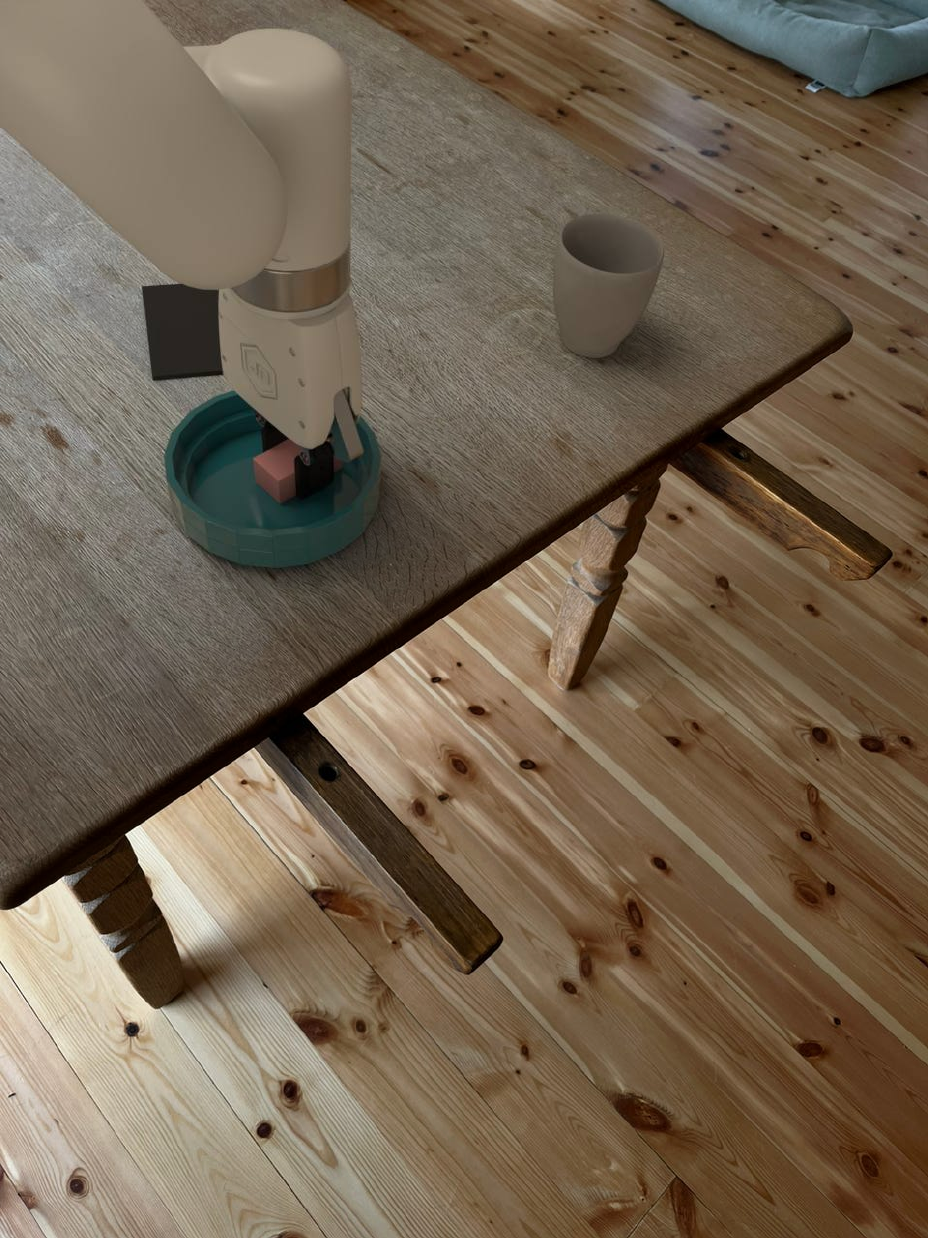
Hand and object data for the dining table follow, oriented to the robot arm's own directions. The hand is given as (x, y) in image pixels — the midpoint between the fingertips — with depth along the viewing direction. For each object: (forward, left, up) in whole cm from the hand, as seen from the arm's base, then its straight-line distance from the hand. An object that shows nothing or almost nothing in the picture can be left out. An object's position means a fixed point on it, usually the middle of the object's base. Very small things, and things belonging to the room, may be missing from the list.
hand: (299, 473), depth 76 cm
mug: (+28, +15, -1) cm, 32 cm away
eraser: (0, 0, 0) cm, 0 cm away
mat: (-2, +19, -1) cm, 19 cm away
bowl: (-2, -1, -1) cm, 2 cm away
